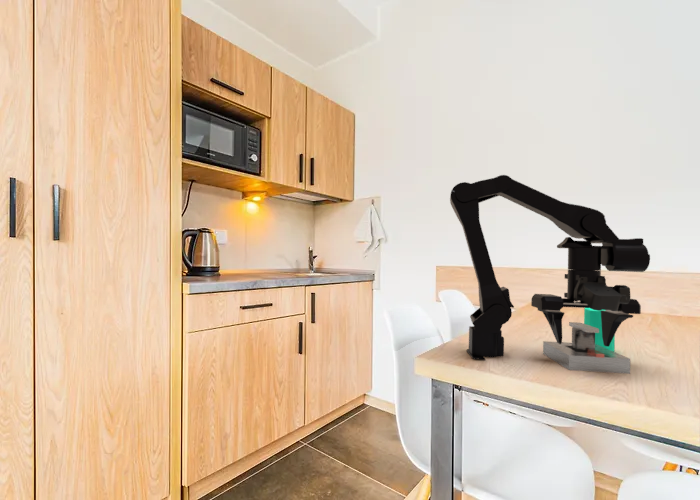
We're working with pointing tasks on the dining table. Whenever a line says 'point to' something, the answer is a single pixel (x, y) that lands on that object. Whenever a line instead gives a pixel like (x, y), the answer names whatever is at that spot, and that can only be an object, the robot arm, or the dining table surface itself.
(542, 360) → the dining table surface
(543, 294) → the robot arm
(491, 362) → the dining table surface
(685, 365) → the dining table surface
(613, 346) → the candle
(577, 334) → the column
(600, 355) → the flat box
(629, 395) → the dining table surface
